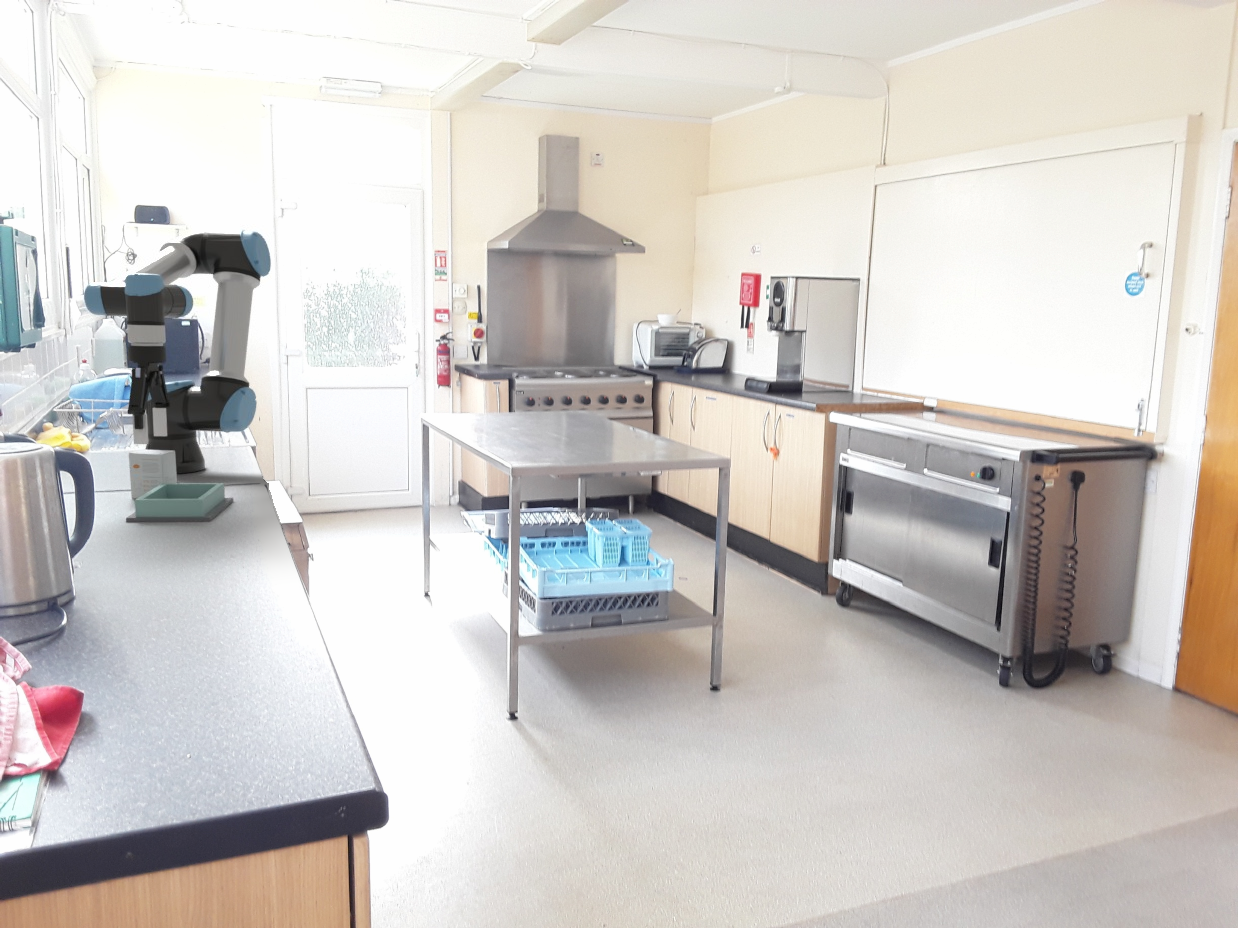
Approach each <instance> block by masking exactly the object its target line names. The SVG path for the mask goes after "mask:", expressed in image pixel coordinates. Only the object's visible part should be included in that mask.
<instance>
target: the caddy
mask: <svg viewBox="0 0 1238 928" xmlns="http://www.w3.org/2000/svg"><path fill="white" fill-rule="evenodd" d="M233 502H234V497H226V496H225V483H224V482H211V483H210V482H206V483H205V482H204V483H203V482H186V483H185V482H181V483H180V482H179V483H178V482H177V483H162V484H160V485H159V486H157V487H155V488H154V489H152V490H151V491H149V492H147V493H146V494H144V495H142V496H141V497H139V498H137V499H135V500H134V512H133V513H132V514H130V515H128V516H127V517H126V518H125V523H136V522H137V523H143V522H144V523H147V522H148V523H149V522H150V523H151V522H153V523H155V522H160V523H161V522H164V523H166V522H167V523H168V522H172V523H173V522H176V523H177V522H211V521H212V520H213V519H215V518H216V517H217V516H218V515H219V514H220V513H222V512H223V511H224V510H225V509H226V508H228V507H229V505H231V504H232V503H233Z"/></svg>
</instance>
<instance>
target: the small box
mask: <svg viewBox="0 0 1238 928" xmlns="http://www.w3.org/2000/svg"><path fill="white" fill-rule="evenodd" d="M128 463H129V465H128V466H129V476H130V477H129V480H130V491H131V492H130V494H131V498H132V499H135V500H136V499H137V498H139V497H141V496H142V495H144V494H146V493H147V492H149V491H151V490H152V489H154V488H155V487H157V486H159V485H160V484H162V483H178V473H176V458H175V451H170V450H145V448H144V449H139V450H135V451H131V452H129V453H128Z"/></svg>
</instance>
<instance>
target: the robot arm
mask: <svg viewBox="0 0 1238 928" xmlns="http://www.w3.org/2000/svg"><path fill="white" fill-rule="evenodd" d="M271 259H272V258H271V252H270V250H269V246H268V243H267V241H266V239H265V238H264V237H263V235H262V234H260V233H259V232H257V231H252V230H245V229H241V230H239V229H238V230H236V229H235V230H234V229H233V230H230V229H209V228H207V229H197V230H194V231H191V232H187V233H184V234H181V235H180V236H177V237H175V238H173V239H171V240H170V241H167V242H166V243H164V244H163V245H162V246H161V248H160V249H159V252H158V253H156V254H154V255H152V256H151V257H149V258H148V259H146V260H144V261H142V262H141V263H139V264H137V265H135V266H134V267H132V268H130V269H129V270H127V271H126V272H124V273H122V274H121V275H119V276H117V277H116V278H114V279H112V280H111V281H108V282H104V281H99V282H91V283H89V284H88V285H87V286H86V287H85V290H84V293H83V295H84V296H83V300H84V303H85V307H86V309H87V310H88V311H89V313H91V314H93V315H95V316H96V315H97V316H105V317H126V326H127V327H126V328H125V329H124V333H126V334H127V342H128V343H129V345H128V346H127V354H128V355H127V356H128V361H129V362H130V363H133V364H134V363H136V364H137V367H132V368H131V382H130V392H129V400H128V408H127V414H128V415H132V432H133V434H132V435H133V445H145V448H144V449H145V450H170V451H175V458H176V473H177V474H186V473H193V472H199V471H203V470H205V469H206V461H205V457H204V454H203V453H202V450H201V447H200V445H199V442H198V437H197V431H198V432H220V433H221V432H222V433H232V432H233V433H237V432H238V433H239V432H243V431H245V430H246V429H248V428H249V426H250V425H251V424H252V422H253V420H254V417H255V415H256V411H257V400H256V398H257V396H256V392H255V391H254V389H253V388H251V387H250V382H249V380H248V379H247V378H246V377H245V371H246V370H245V369H246V360H247V350H248V340H249V333H250V323H251V322H250V321H251V312H252V303H253V295H254V290H255V289H256V288H258V287H259V286H260V284H261V277H265V276H268V275H269V274H270V271H271V267H272V265H271V264H272V260H271ZM199 274H200V275H202V274H203V275H212V278H213V280H214V281H215V282H216V283H217V293H216V294H217V295H216V300H215V301H216V303H215V312H214V318H213V319H214V321H213V330H212V339H211V346H210V348H211V349H210V357H209V366H208V371H207V373H205V374H204V375H202V376H201V381H200V385H196V384H195V381H194V380H193V379H186V380H185V379H184V380H176V381H166V379H165V375H164V373H165V372H164V365H163V364H164V363H166V362H167V348H166V346H165V345H164V344H165V343H166V342H167V341H166V339H167V338H166V322H165V319H166V318H168V319H169V318H171V319H179V318H183V317H185V316H187V315H189V314H190V313H191V311H192V309H193V307H194V299H193V296H192V293H191V292H190V291H189V290H188V288H185V287H183V286H182V285H178V284H172V283H173V282H175V281H176V280H178V279H184V278H188V277H190V276H192V275H199Z"/></svg>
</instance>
